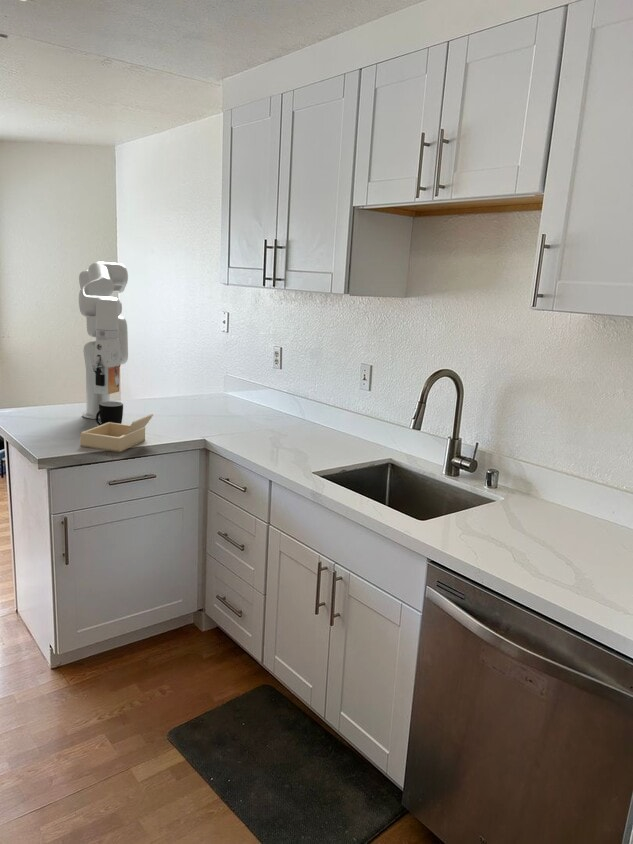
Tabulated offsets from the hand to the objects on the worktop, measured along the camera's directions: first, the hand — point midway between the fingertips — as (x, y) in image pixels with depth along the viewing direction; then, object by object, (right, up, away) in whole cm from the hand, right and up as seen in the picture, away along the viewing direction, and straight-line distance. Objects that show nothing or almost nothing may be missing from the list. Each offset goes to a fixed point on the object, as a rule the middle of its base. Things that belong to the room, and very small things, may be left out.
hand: (107, 383), depth 220 cm
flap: (+11, -14, +1) cm, 18 cm away
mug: (-7, -17, +23) cm, 30 cm away
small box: (0, -3, +1) cm, 3 cm away
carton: (+1, -21, +5) cm, 22 cm away
